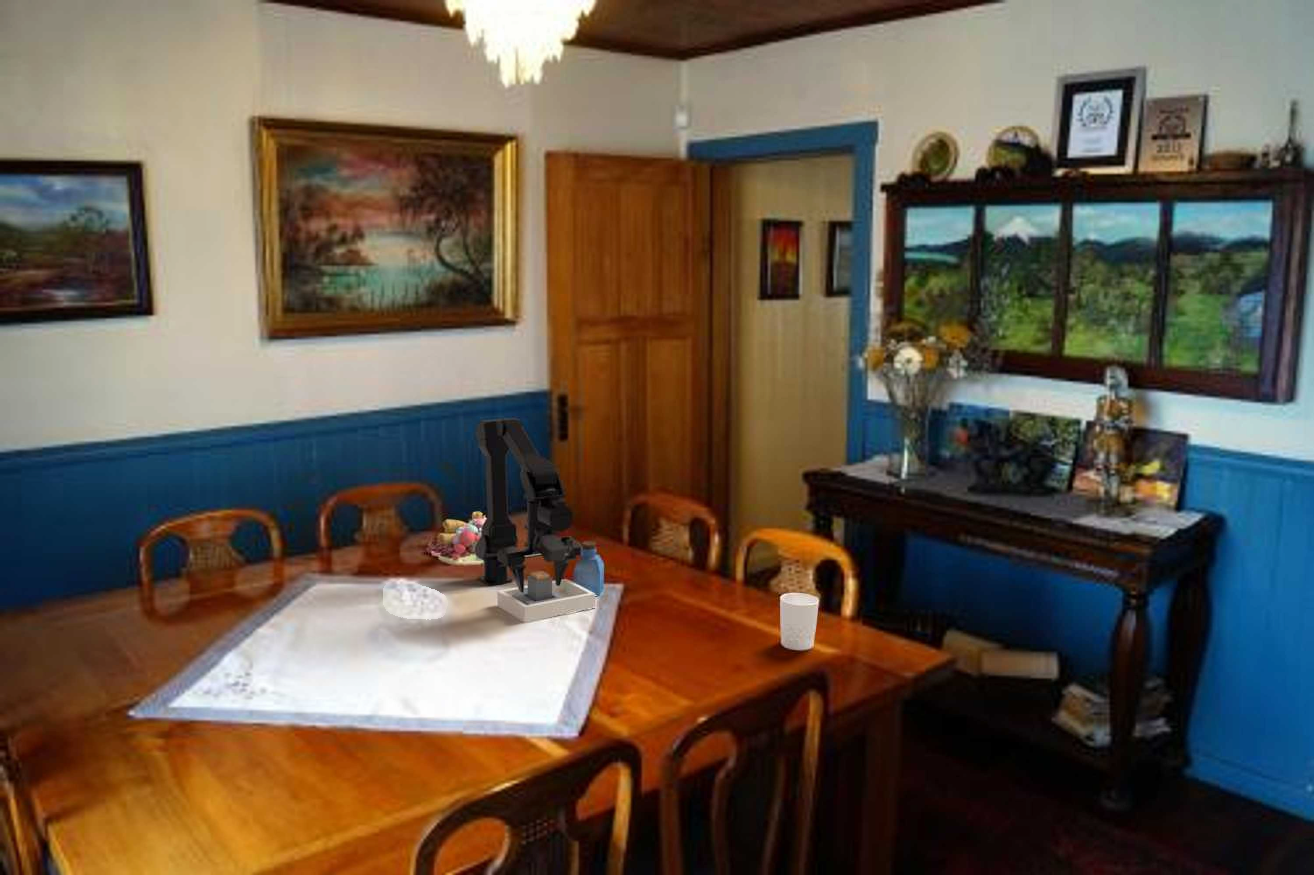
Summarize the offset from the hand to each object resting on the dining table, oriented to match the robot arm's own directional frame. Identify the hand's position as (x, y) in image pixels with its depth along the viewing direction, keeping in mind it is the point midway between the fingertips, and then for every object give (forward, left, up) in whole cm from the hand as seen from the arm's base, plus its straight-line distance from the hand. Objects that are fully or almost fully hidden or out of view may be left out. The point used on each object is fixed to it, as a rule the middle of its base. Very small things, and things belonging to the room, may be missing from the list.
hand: (539, 588), depth 236 cm
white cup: (+47, +35, -5) cm, 59 cm away
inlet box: (-1, +2, -5) cm, 5 cm away
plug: (0, 0, -4) cm, 4 cm away
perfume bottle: (-5, +16, -5) cm, 18 cm away
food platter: (-51, +8, -5) cm, 51 cm away
